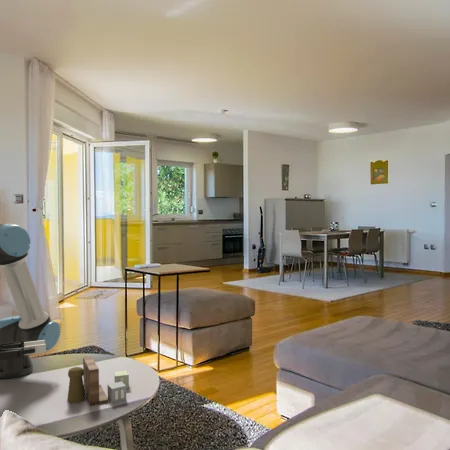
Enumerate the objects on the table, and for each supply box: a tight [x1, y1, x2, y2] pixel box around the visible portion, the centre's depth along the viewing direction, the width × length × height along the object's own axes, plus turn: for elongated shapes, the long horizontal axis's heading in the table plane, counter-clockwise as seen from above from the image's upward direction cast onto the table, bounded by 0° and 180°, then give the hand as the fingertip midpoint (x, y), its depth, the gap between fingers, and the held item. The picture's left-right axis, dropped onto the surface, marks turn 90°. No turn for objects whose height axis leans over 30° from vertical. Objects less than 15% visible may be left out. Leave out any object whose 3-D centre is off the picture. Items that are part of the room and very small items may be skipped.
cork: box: [66, 366, 86, 404], centre depth 156 cm, size 6×6×11 cm
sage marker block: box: [114, 370, 130, 389], centre depth 167 cm, size 5×5×5 cm
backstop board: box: [82, 355, 109, 407], centre depth 158 cm, size 16×6×12 cm, turn 25°
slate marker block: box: [107, 382, 127, 404], centre depth 155 cm, size 5×5×5 cm
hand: (45, 346), depth 151 cm, fingers open, 5 cm apart
